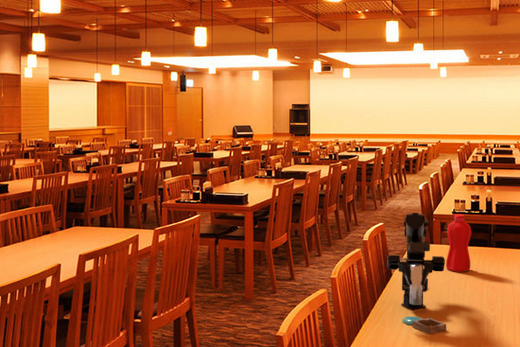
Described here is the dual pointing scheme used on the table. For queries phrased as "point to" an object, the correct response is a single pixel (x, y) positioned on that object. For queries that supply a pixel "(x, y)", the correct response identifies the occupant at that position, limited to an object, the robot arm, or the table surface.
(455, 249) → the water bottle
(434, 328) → the open brown square box
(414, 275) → the peg
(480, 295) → the table surface
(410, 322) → the shiny teal dome
